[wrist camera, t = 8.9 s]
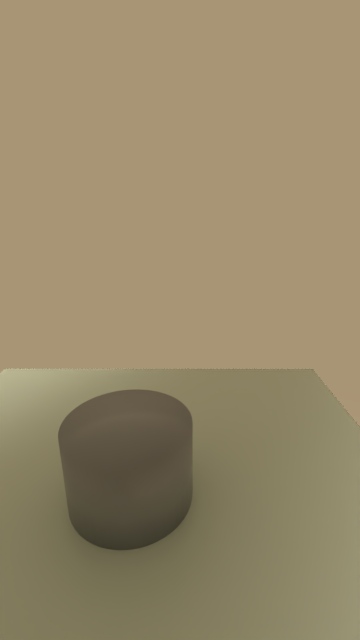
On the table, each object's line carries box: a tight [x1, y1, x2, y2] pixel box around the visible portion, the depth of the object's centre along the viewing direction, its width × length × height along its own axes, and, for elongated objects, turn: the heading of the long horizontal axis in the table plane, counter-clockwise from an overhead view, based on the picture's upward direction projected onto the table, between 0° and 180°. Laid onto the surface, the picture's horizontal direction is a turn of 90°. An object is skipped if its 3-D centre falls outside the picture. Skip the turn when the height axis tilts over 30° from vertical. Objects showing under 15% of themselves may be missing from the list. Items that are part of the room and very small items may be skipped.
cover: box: [0, 369, 360, 640], centre depth 8 cm, size 11×11×12 cm
